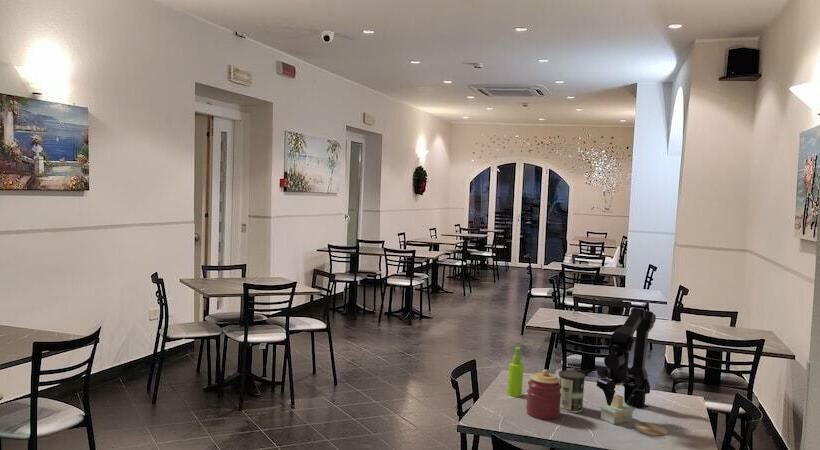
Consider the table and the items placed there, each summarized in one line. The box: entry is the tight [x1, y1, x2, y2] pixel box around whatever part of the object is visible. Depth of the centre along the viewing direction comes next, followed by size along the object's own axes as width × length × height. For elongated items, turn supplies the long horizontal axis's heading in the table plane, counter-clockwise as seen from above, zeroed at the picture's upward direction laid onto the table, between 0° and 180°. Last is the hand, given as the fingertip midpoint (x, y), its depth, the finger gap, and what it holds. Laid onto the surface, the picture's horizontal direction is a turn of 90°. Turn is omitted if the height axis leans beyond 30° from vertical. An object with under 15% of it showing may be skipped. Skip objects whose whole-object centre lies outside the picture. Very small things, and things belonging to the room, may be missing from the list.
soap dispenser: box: [507, 346, 525, 398], centre depth 270 cm, size 6×7×20 cm
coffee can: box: [558, 369, 586, 414], centre depth 256 cm, size 10×10×14 cm
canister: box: [525, 369, 562, 420], centre depth 247 cm, size 13×13×18 cm
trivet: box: [633, 421, 669, 437], centre depth 238 cm, size 12×12×1 cm
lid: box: [599, 394, 636, 414], centre depth 245 cm, size 11×8×6 cm
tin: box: [600, 408, 634, 426], centre depth 246 cm, size 10×6×4 cm, turn 120°
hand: (617, 404), depth 245 cm, fingers open, 9 cm apart
